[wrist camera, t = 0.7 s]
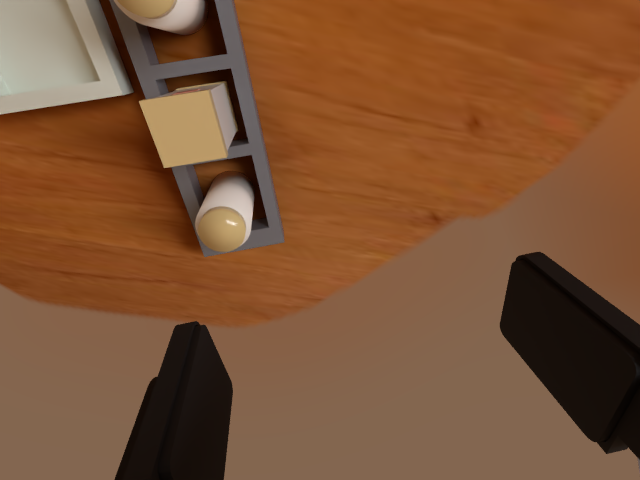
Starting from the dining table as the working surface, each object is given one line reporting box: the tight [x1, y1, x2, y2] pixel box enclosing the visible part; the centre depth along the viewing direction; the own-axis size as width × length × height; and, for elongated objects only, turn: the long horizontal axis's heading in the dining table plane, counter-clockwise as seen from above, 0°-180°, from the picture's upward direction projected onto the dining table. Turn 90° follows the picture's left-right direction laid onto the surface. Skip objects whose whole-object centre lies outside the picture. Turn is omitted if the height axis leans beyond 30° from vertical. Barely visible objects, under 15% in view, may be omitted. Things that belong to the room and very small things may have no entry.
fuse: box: [139, 81, 239, 168], centre depth 25 cm, size 4×4×10 cm
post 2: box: [195, 171, 255, 252], centre depth 30 cm, size 4×4×9 cm
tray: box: [0, 0, 134, 114], centre depth 24 cm, size 10×10×2 cm
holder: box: [109, 0, 284, 257], centre depth 28 cm, size 27×8×2 cm, turn 8°
